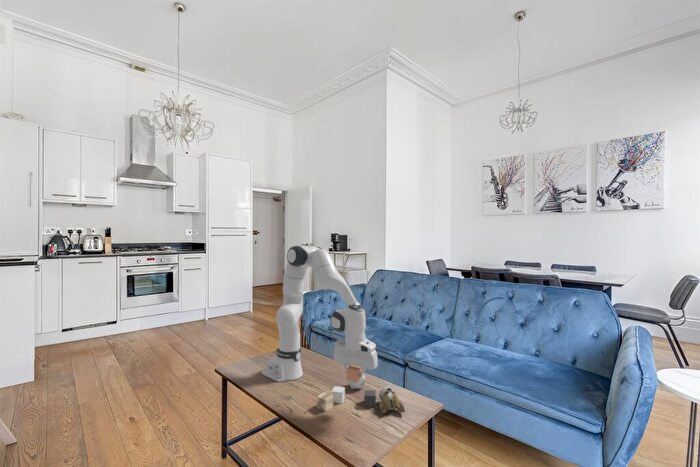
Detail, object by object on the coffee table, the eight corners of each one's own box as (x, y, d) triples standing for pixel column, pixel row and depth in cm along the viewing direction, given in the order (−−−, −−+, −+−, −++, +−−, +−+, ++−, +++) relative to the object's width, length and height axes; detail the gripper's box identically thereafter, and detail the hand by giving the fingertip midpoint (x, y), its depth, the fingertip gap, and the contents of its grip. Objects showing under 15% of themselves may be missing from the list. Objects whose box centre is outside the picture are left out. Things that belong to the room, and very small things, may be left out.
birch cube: (317, 407, 138) (317, 396, 138) (324, 403, 142) (324, 392, 142) (325, 411, 135) (325, 400, 135) (333, 406, 139) (333, 395, 139)
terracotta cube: (346, 379, 137) (346, 368, 137) (352, 375, 141) (352, 364, 141) (357, 382, 134) (357, 370, 134) (362, 377, 139) (362, 366, 139)
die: (359, 395, 151) (370, 375, 154) (343, 384, 153) (354, 365, 156) (358, 393, 159) (369, 374, 162) (343, 382, 161) (354, 364, 164)
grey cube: (331, 402, 143) (331, 391, 143) (334, 396, 148) (334, 386, 148) (342, 403, 142) (342, 392, 142) (344, 398, 147) (344, 387, 147)
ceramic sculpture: (397, 379, 147) (406, 398, 132) (397, 397, 147) (406, 418, 132) (374, 381, 146) (381, 399, 131) (374, 399, 146) (381, 420, 131)
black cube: (364, 406, 140) (364, 395, 140) (364, 400, 145) (364, 389, 145) (375, 407, 139) (375, 395, 140) (375, 401, 144) (375, 390, 144)
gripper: (331, 341, 140) (330, 372, 140) (373, 349, 130) (373, 383, 130) (338, 337, 145) (337, 367, 145) (379, 345, 136) (378, 377, 136)
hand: (354, 375), depth 138 cm, fingers closed on terracotta cube, 5 cm apart
